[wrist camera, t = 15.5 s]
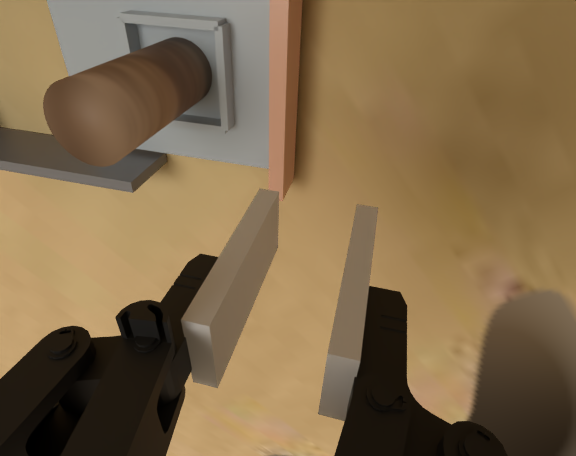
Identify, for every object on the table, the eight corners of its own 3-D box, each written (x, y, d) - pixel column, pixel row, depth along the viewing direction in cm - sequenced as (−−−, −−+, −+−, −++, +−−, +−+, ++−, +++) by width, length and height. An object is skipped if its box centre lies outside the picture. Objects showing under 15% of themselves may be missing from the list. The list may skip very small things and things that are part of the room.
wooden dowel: (209, 40, 29) (116, 85, 20) (213, 106, 32) (134, 172, 23) (148, 33, 30) (31, 73, 21) (158, 98, 33) (58, 159, 24)
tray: (305, -55, 25) (290, -54, 22) (293, 178, 35) (282, 201, 32) (35, -67, 29) (-11, -68, 25) (95, 147, 39) (68, 165, 36)
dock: (128, -72, 27) (69, -74, 23) (167, 161, 38) (133, 192, 33) (-101, -82, 31) (-193, -86, 26) (-6, 134, 41) (-58, 159, 37)
